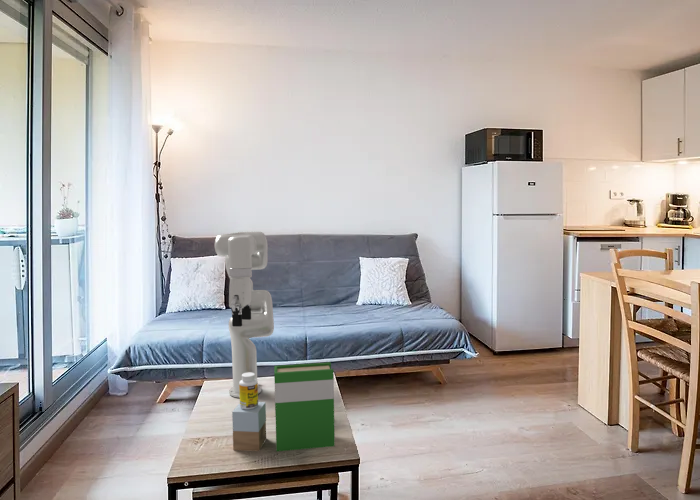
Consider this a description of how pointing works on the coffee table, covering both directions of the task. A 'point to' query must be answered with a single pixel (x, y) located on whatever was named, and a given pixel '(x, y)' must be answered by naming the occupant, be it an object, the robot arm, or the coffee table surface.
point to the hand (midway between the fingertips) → (242, 322)
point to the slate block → (249, 418)
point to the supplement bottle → (248, 391)
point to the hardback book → (304, 406)
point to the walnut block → (249, 439)
